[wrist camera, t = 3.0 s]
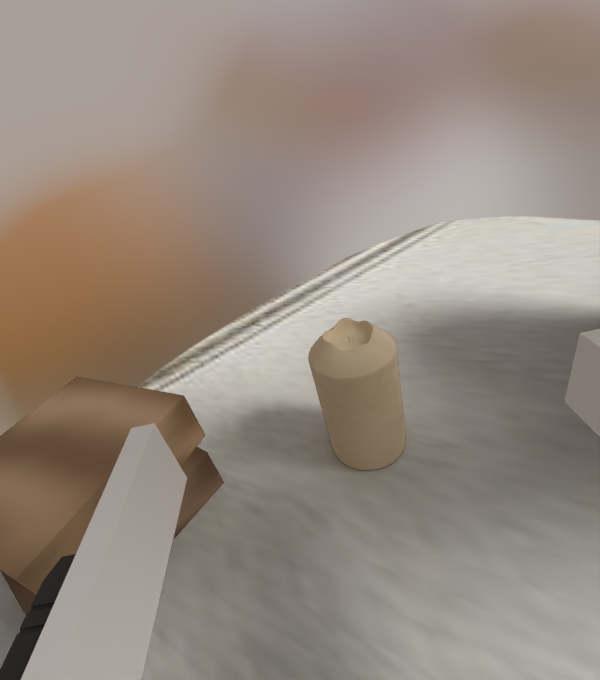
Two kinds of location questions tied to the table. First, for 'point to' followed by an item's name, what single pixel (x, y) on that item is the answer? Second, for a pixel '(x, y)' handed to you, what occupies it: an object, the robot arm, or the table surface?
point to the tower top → (73, 466)
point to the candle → (360, 393)
